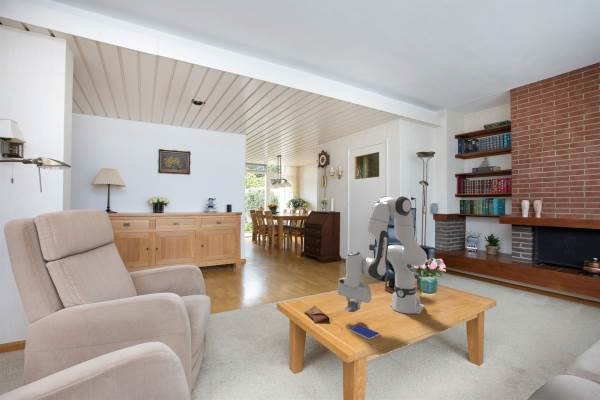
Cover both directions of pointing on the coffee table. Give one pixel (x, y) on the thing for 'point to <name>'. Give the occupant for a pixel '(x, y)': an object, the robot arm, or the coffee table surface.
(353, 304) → the plug
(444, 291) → the coffee table surface
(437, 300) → the coffee table surface
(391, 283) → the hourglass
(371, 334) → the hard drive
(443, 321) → the coffee table surface
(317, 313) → the sunglasses case
